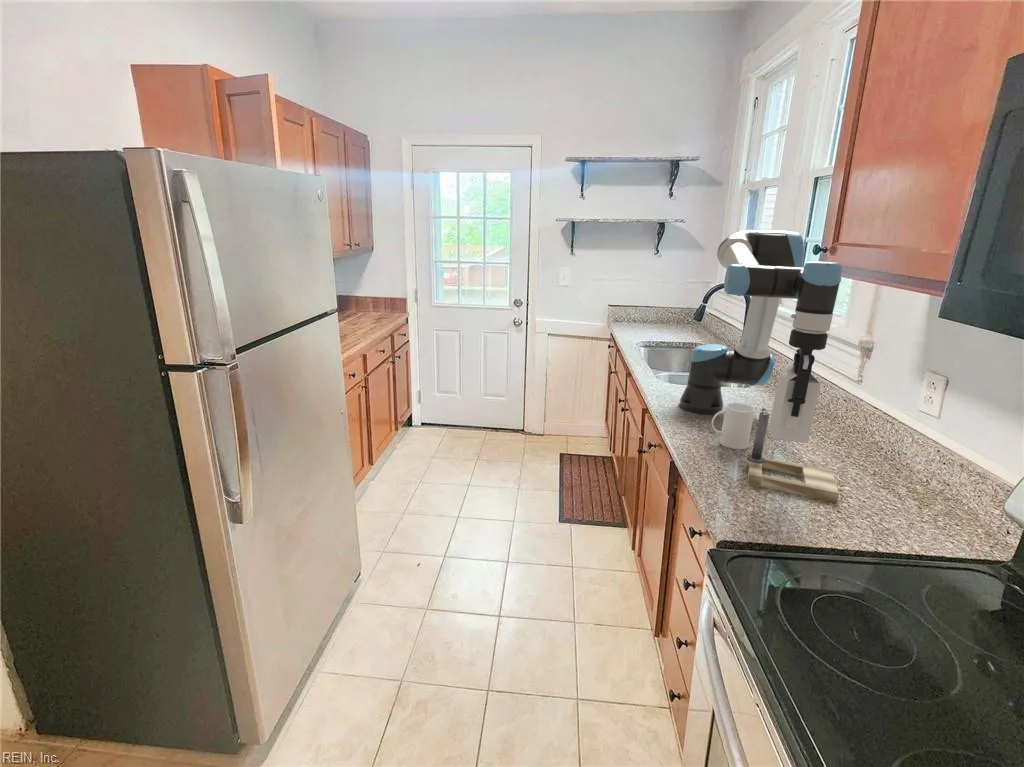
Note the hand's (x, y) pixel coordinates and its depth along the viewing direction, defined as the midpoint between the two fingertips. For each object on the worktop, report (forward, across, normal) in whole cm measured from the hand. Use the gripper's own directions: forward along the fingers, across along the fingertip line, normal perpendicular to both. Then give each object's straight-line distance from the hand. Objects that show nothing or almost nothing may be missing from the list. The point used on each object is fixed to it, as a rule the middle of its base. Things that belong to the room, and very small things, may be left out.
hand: (790, 422), depth 124 cm
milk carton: (+4, 0, 0) cm, 4 cm away
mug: (+19, -26, -13) cm, 35 cm away
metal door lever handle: (+18, -13, -6) cm, 23 cm away
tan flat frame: (+18, -7, +3) cm, 20 cm away
